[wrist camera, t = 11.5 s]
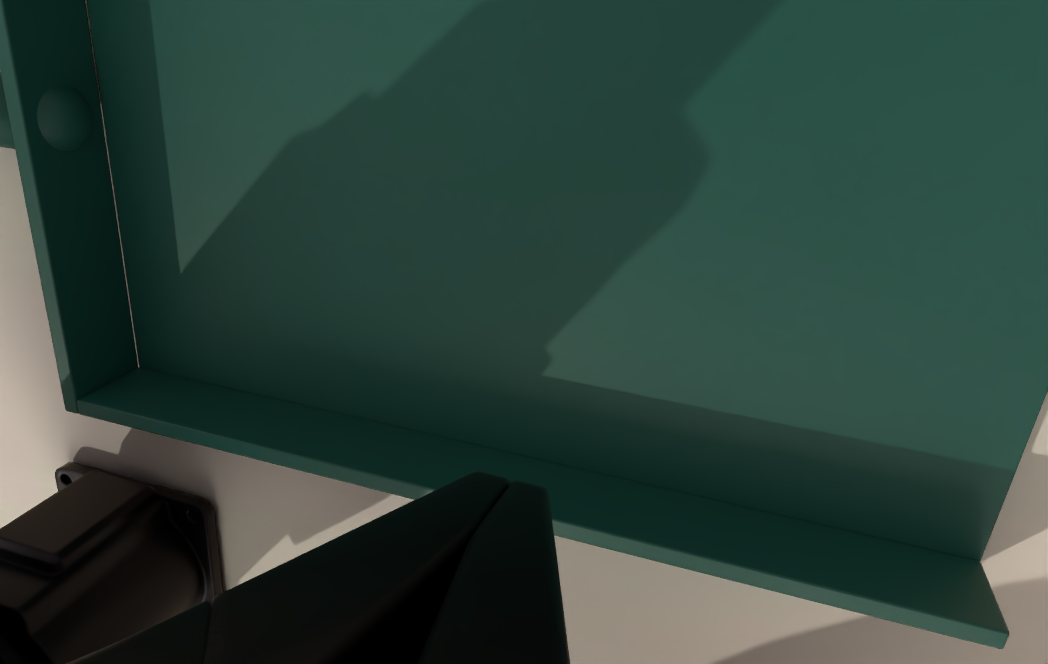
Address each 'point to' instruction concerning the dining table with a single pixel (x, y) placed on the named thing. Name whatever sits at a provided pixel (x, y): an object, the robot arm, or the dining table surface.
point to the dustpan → (570, 261)
